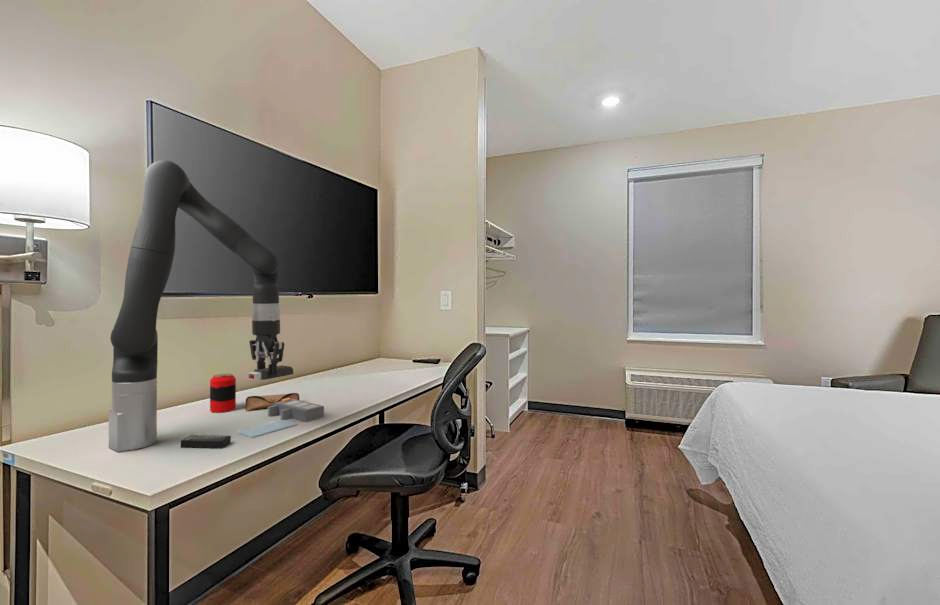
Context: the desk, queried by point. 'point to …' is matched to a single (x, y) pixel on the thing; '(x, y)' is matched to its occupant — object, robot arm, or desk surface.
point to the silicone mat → (267, 428)
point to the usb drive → (263, 374)
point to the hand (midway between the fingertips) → (267, 375)
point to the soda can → (222, 393)
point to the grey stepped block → (296, 410)
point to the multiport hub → (206, 441)
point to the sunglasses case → (266, 401)
